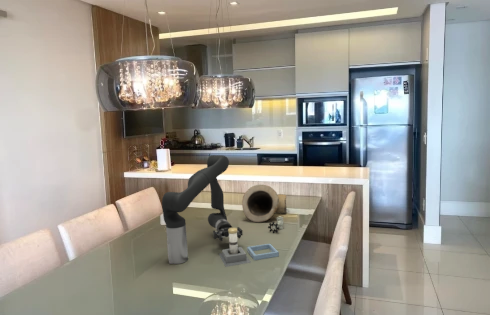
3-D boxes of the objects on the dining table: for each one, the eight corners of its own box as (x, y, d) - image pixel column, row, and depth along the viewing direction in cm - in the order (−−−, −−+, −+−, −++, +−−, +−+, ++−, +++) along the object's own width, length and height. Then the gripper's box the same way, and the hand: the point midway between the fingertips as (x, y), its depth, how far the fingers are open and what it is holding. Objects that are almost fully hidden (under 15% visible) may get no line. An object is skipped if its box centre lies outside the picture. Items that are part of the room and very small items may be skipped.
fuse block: (225, 269, 164) (225, 260, 164) (218, 256, 180) (218, 247, 179) (251, 265, 167) (251, 256, 167) (242, 252, 183) (241, 244, 182)
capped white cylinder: (230, 260, 171) (229, 231, 169) (228, 256, 175) (227, 228, 173) (239, 258, 172) (238, 229, 170) (237, 255, 176) (236, 227, 174)
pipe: (286, 222, 255) (290, 220, 226) (244, 224, 256) (242, 222, 227) (284, 189, 260) (287, 182, 231) (243, 190, 261) (241, 184, 232)
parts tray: (254, 263, 170) (254, 255, 169) (247, 253, 181) (247, 246, 181) (279, 259, 173) (278, 252, 172) (270, 250, 184) (270, 243, 184)
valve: (276, 226, 221) (268, 232, 210) (276, 215, 220) (267, 221, 209) (286, 227, 218) (278, 234, 207) (286, 216, 217) (278, 222, 206)
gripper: (209, 222, 190) (215, 232, 175) (236, 219, 194) (244, 228, 179) (210, 236, 191) (216, 247, 176) (237, 232, 195) (245, 243, 180)
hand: (230, 237), depth 177 cm, fingers open, 8 cm apart
